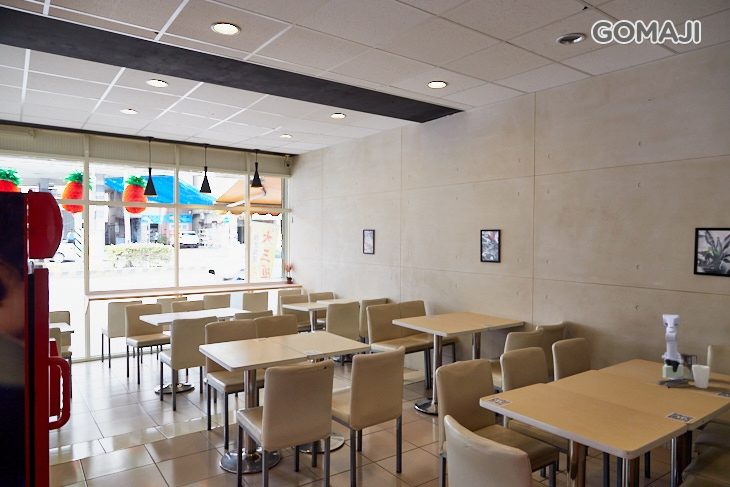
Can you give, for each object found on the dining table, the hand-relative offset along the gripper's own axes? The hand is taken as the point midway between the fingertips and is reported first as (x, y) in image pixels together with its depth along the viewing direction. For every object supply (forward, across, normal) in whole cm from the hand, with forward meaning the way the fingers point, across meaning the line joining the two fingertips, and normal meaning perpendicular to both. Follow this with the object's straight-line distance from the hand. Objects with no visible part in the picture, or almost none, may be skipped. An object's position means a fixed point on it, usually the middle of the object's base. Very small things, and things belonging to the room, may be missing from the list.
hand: (672, 371), depth 308 cm
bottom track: (+9, 0, 0) cm, 9 cm away
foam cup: (+9, +9, +13) cm, 18 cm away
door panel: (+3, 0, 0) cm, 3 cm away
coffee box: (+9, -10, +24) cm, 28 cm away
